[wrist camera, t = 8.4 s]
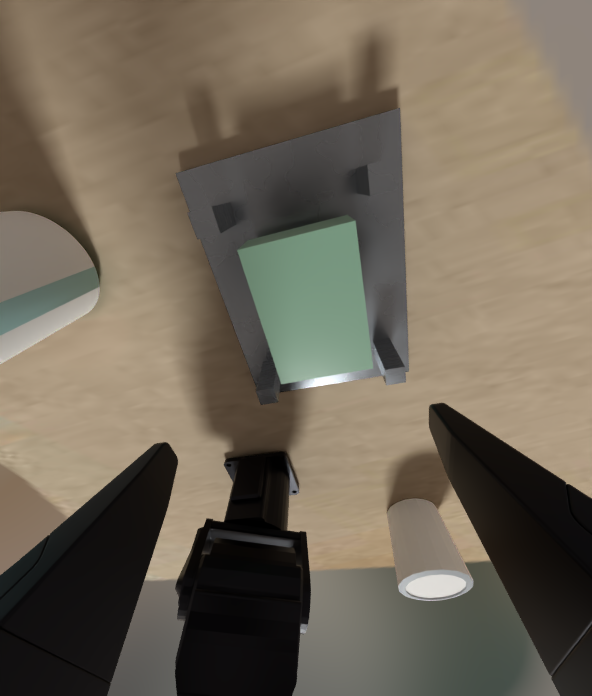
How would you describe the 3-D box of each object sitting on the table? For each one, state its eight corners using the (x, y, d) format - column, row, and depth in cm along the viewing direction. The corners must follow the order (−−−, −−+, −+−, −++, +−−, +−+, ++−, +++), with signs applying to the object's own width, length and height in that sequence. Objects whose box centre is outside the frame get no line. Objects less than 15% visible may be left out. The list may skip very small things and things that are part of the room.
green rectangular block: (364, 344, 18) (373, 368, 16) (284, 359, 19) (281, 384, 17) (347, 214, 15) (355, 220, 12) (248, 240, 15) (237, 250, 13)
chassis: (405, 365, 22) (426, 403, 18) (260, 389, 24) (252, 428, 20) (395, 111, 14) (427, 84, 10) (181, 173, 16) (142, 170, 12)
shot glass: (447, 521, 33) (479, 596, 27) (391, 532, 35) (409, 606, 29) (435, 489, 30) (467, 565, 24) (373, 503, 32) (389, 578, 26)
